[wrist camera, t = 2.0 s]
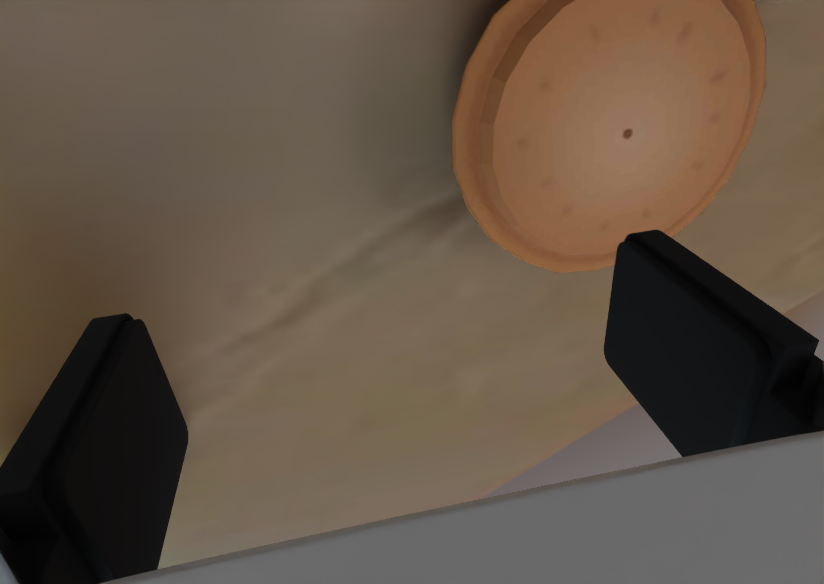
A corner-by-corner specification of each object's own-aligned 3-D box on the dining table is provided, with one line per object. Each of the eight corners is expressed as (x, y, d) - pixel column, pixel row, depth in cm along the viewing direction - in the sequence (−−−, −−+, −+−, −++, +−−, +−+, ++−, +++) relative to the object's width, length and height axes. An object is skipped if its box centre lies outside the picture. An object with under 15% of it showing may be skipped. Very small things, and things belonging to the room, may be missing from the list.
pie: (773, 45, 28) (856, 56, 24) (596, 279, 34) (638, 322, 30) (553, -146, 23) (612, -175, 18) (383, 176, 28) (398, 211, 24)
